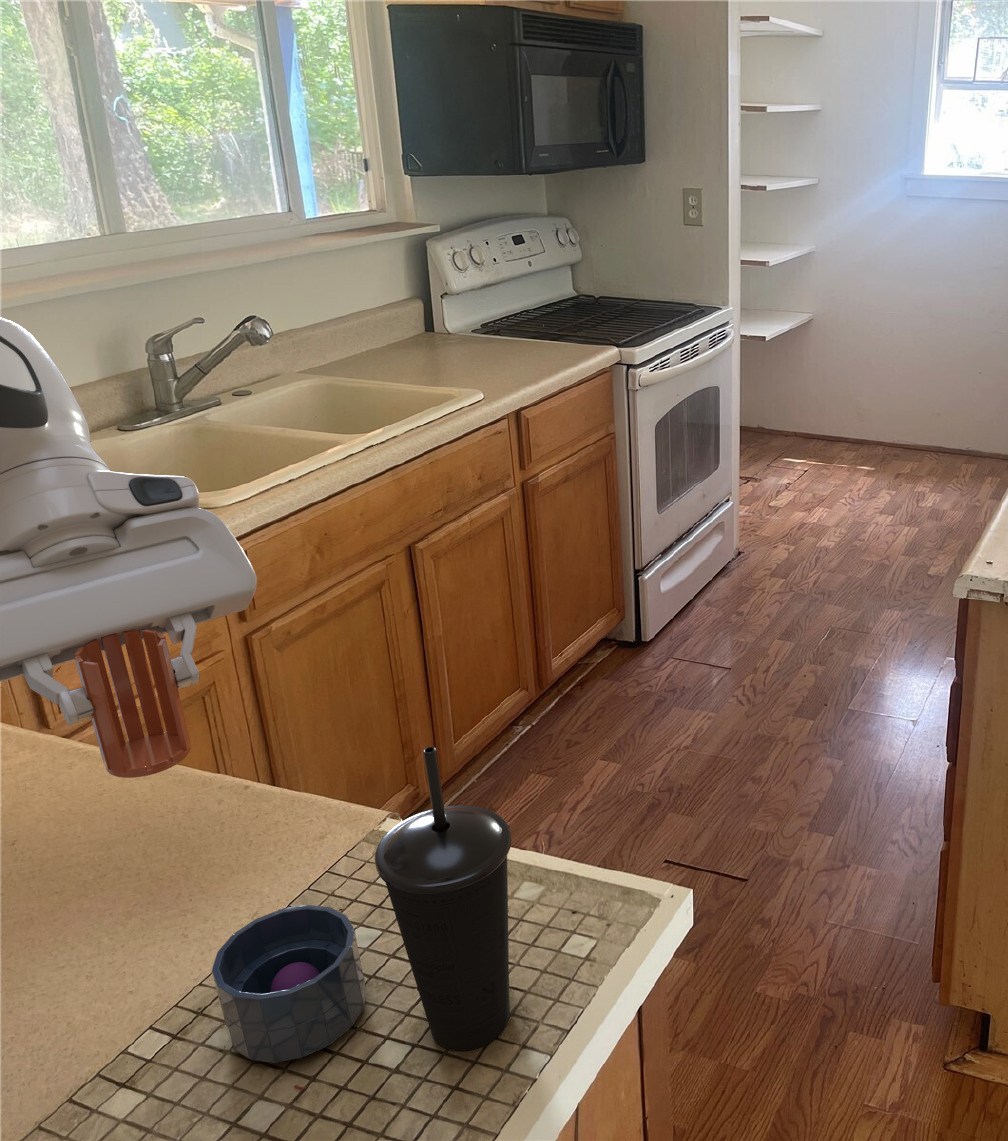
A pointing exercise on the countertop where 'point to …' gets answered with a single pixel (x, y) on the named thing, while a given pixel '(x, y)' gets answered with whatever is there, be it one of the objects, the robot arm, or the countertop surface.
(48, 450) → the robot arm
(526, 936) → the countertop surface
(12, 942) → the countertop surface
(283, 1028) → the bowl
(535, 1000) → the countertop surface
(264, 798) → the countertop surface
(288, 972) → the ball
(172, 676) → the slatted pencil cup
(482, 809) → the drinking cup
